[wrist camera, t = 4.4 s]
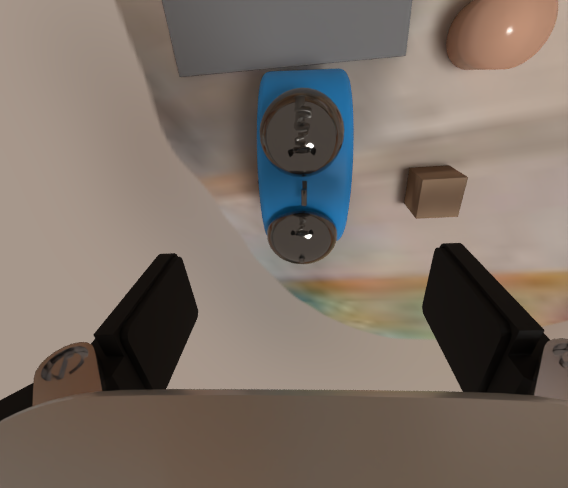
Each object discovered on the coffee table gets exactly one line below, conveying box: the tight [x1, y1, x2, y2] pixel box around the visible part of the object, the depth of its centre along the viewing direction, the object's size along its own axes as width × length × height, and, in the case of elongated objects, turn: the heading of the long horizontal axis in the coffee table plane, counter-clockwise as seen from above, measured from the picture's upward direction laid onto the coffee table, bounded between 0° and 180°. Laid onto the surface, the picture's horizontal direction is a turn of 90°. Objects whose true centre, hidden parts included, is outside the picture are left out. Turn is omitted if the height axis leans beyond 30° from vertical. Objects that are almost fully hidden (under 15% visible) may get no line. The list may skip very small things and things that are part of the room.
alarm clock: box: [257, 69, 353, 264], centre depth 23 cm, size 13×6×15 cm, turn 2°
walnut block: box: [404, 166, 468, 219], centre depth 29 cm, size 4×4×4 cm
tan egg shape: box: [446, 0, 558, 70], centre depth 22 cm, size 5×5×5 cm
